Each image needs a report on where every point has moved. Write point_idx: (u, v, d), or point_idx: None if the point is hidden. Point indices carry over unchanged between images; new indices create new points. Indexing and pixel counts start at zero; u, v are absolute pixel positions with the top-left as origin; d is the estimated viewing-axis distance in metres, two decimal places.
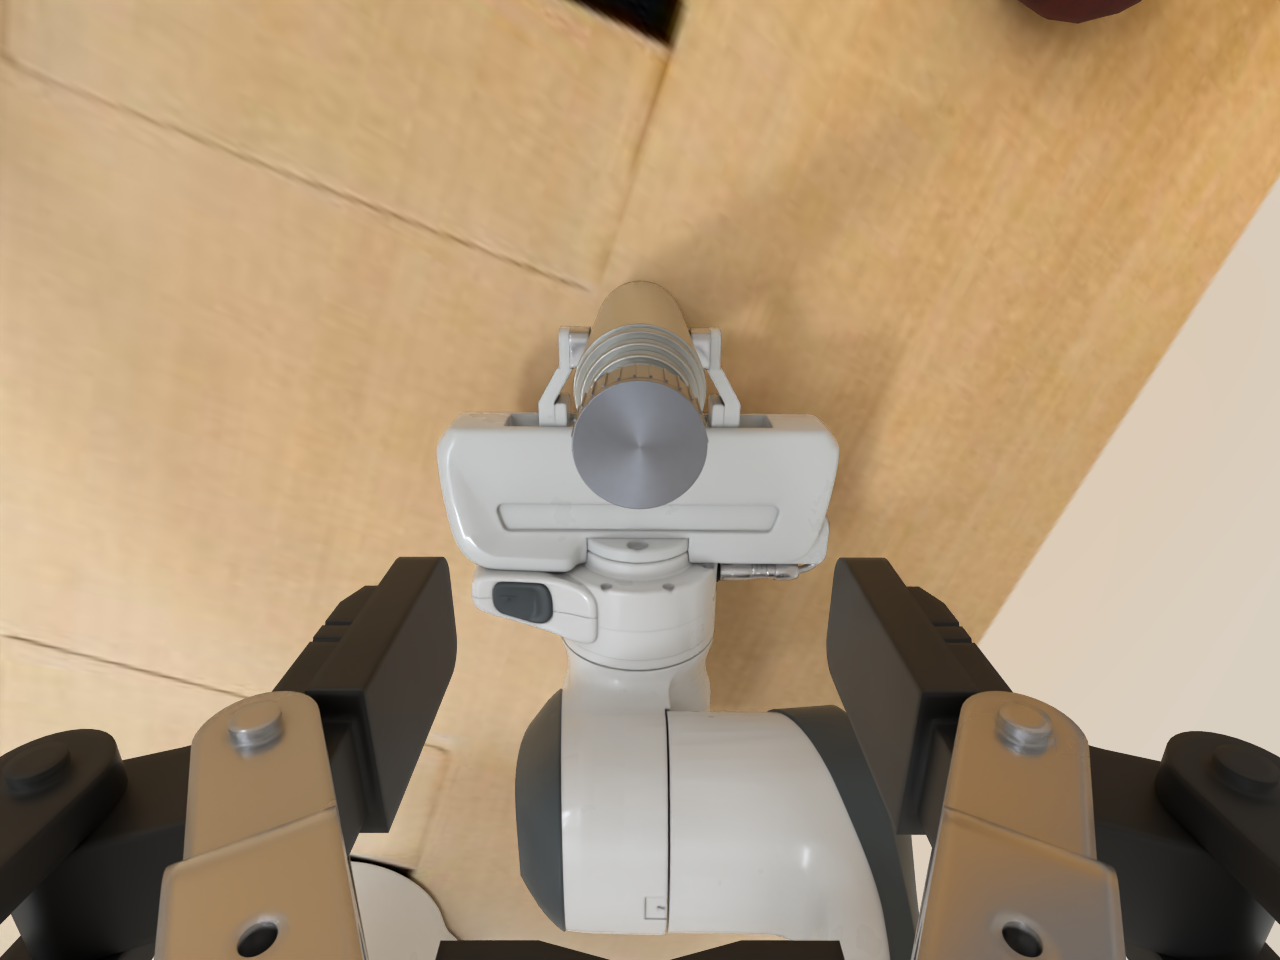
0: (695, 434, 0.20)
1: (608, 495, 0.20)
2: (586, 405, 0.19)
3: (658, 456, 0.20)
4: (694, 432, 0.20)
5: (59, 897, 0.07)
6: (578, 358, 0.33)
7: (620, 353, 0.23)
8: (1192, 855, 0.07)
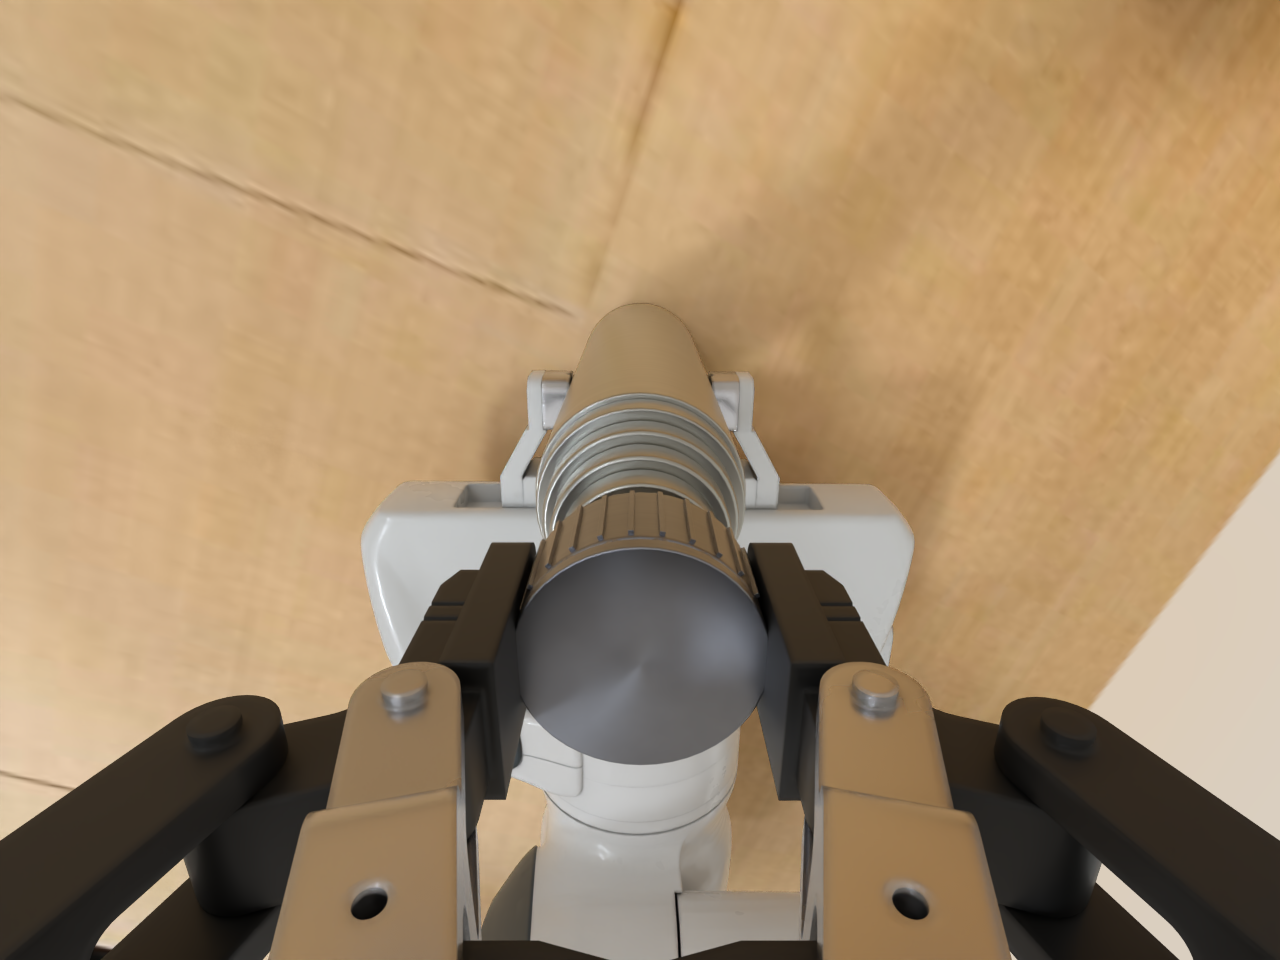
0: (748, 643, 0.10)
1: (582, 743, 0.11)
2: (537, 592, 0.10)
3: (677, 679, 0.10)
4: (746, 639, 0.10)
5: (220, 853, 0.07)
6: (555, 416, 0.24)
7: (608, 449, 0.14)
8: (1035, 820, 0.07)
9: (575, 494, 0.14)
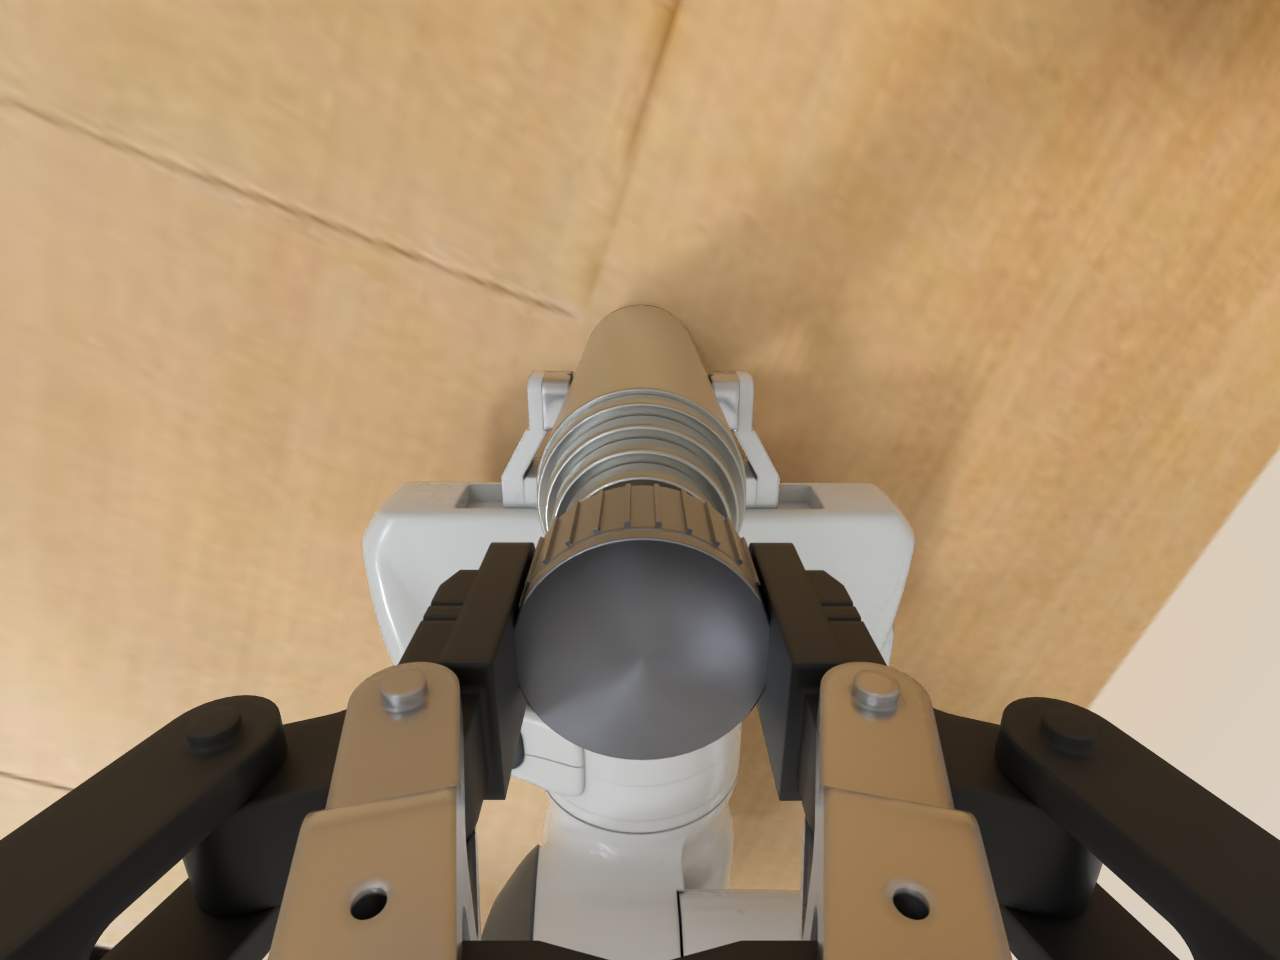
0: (630, 559, 0.10)
1: (731, 717, 0.11)
2: (551, 728, 0.11)
3: (667, 627, 0.10)
4: (626, 560, 0.10)
5: (219, 853, 0.07)
6: (555, 416, 0.24)
7: (609, 443, 0.14)
8: (1036, 820, 0.07)
9: (576, 488, 0.14)
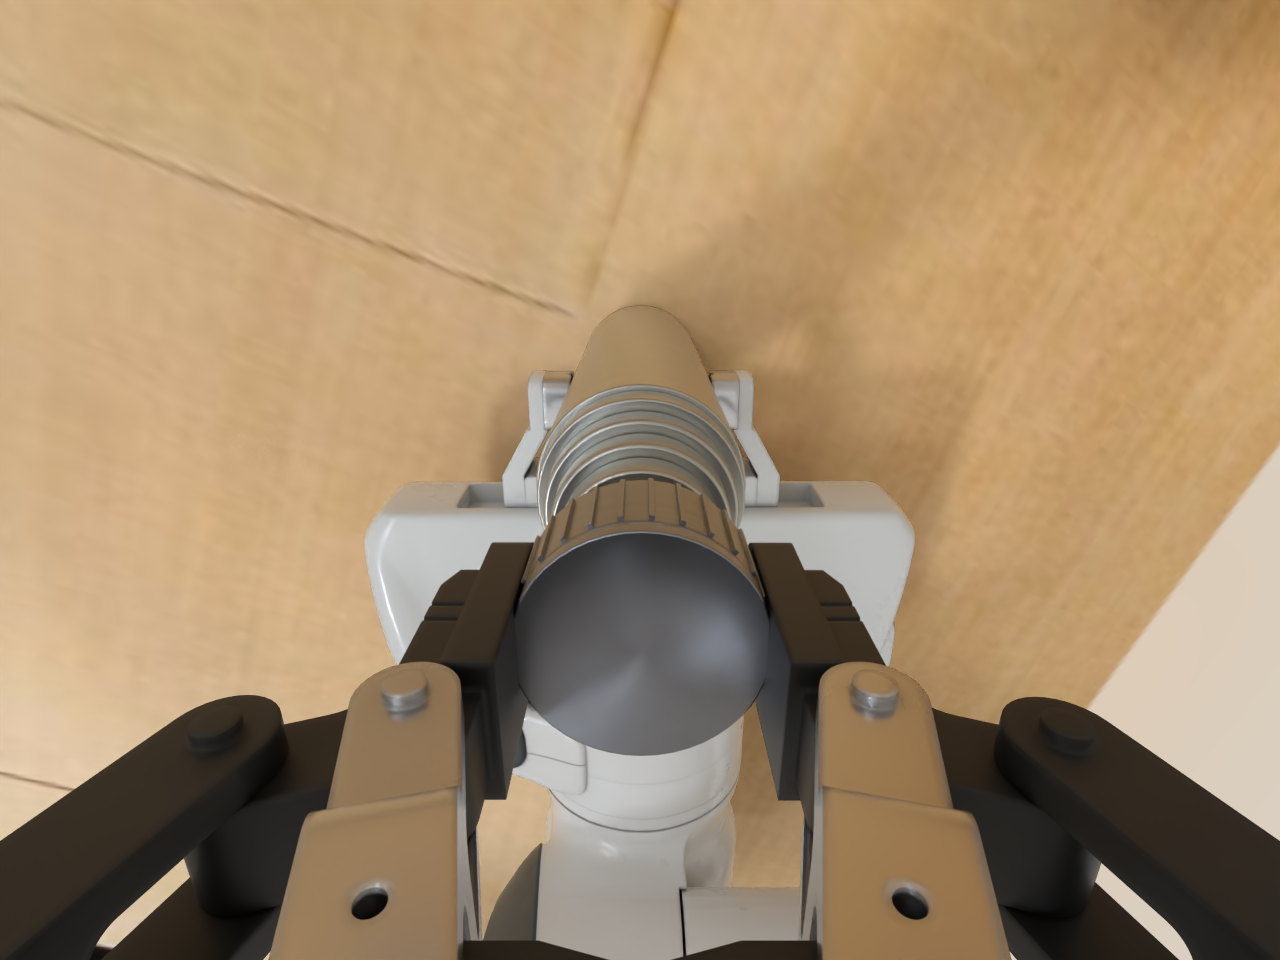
0: (530, 649, 0.10)
1: (731, 578, 0.10)
2: (712, 737, 0.11)
3: (609, 627, 0.10)
4: (531, 652, 0.10)
5: (220, 853, 0.07)
6: None
7: (608, 438, 0.14)
8: (1035, 820, 0.07)
9: (576, 482, 0.14)
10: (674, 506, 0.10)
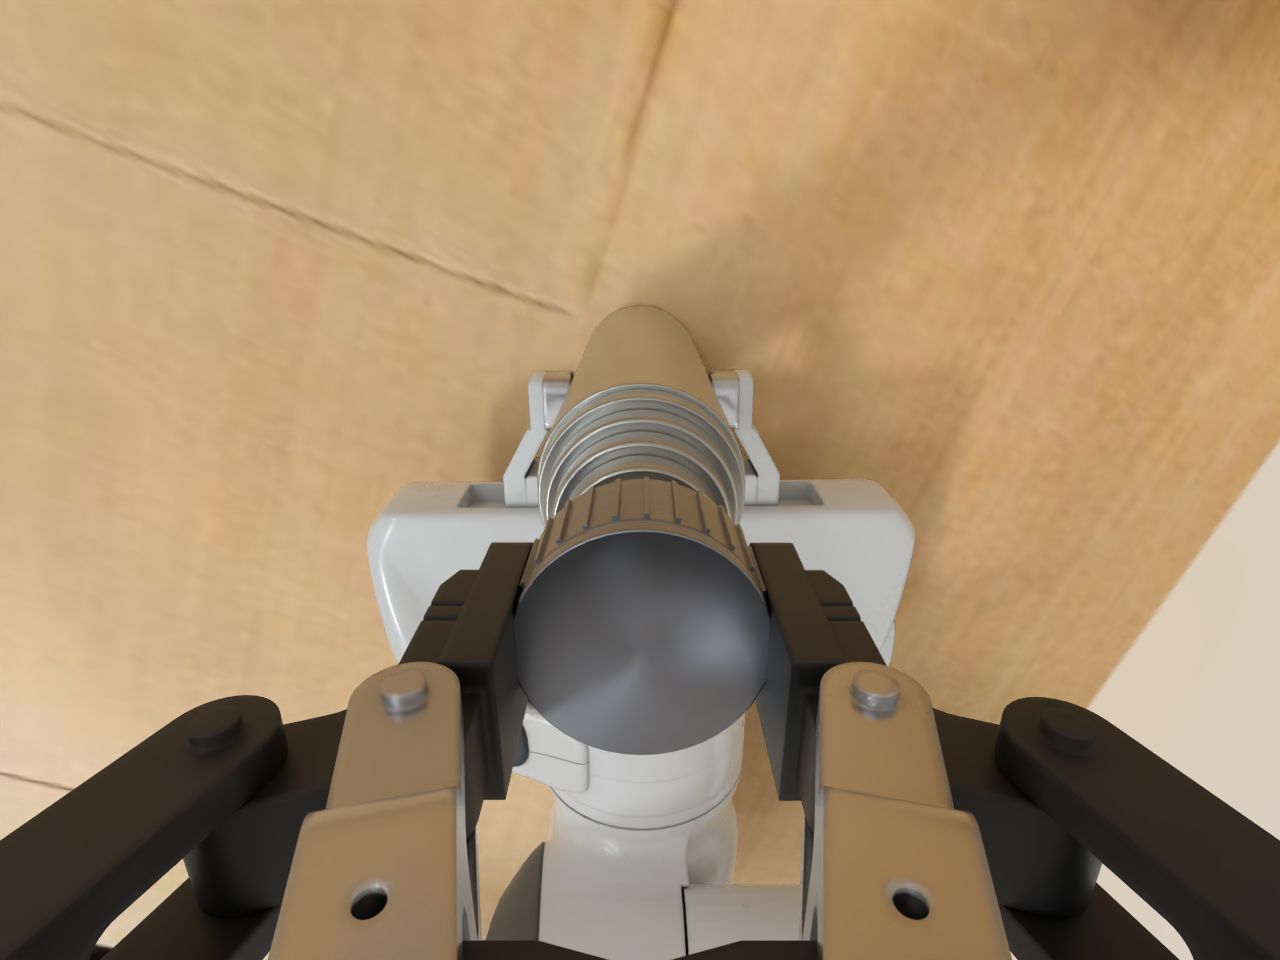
0: (624, 739, 0.11)
1: (569, 563, 0.10)
2: (761, 596, 0.10)
3: (610, 673, 0.10)
4: (628, 738, 0.11)
5: (219, 853, 0.07)
6: (556, 416, 0.24)
7: (608, 437, 0.14)
8: (1035, 820, 0.07)
9: (576, 480, 0.14)
10: None
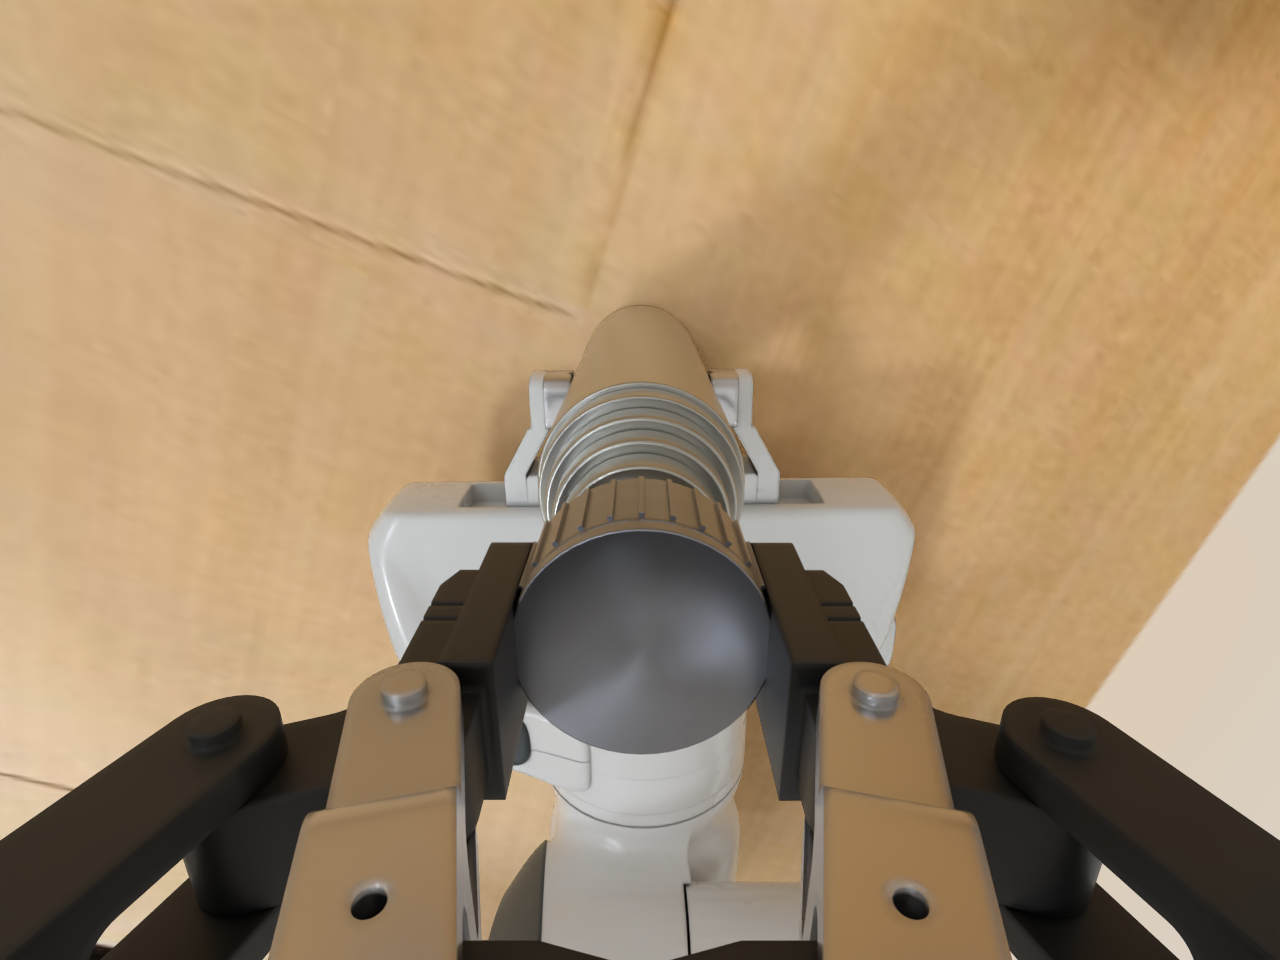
0: (746, 677, 0.10)
1: (539, 695, 0.10)
2: (595, 537, 0.10)
3: (664, 679, 0.10)
4: (746, 673, 0.10)
5: (219, 853, 0.07)
6: None
7: (608, 435, 0.14)
8: (1035, 820, 0.07)
9: (576, 479, 0.14)
10: None
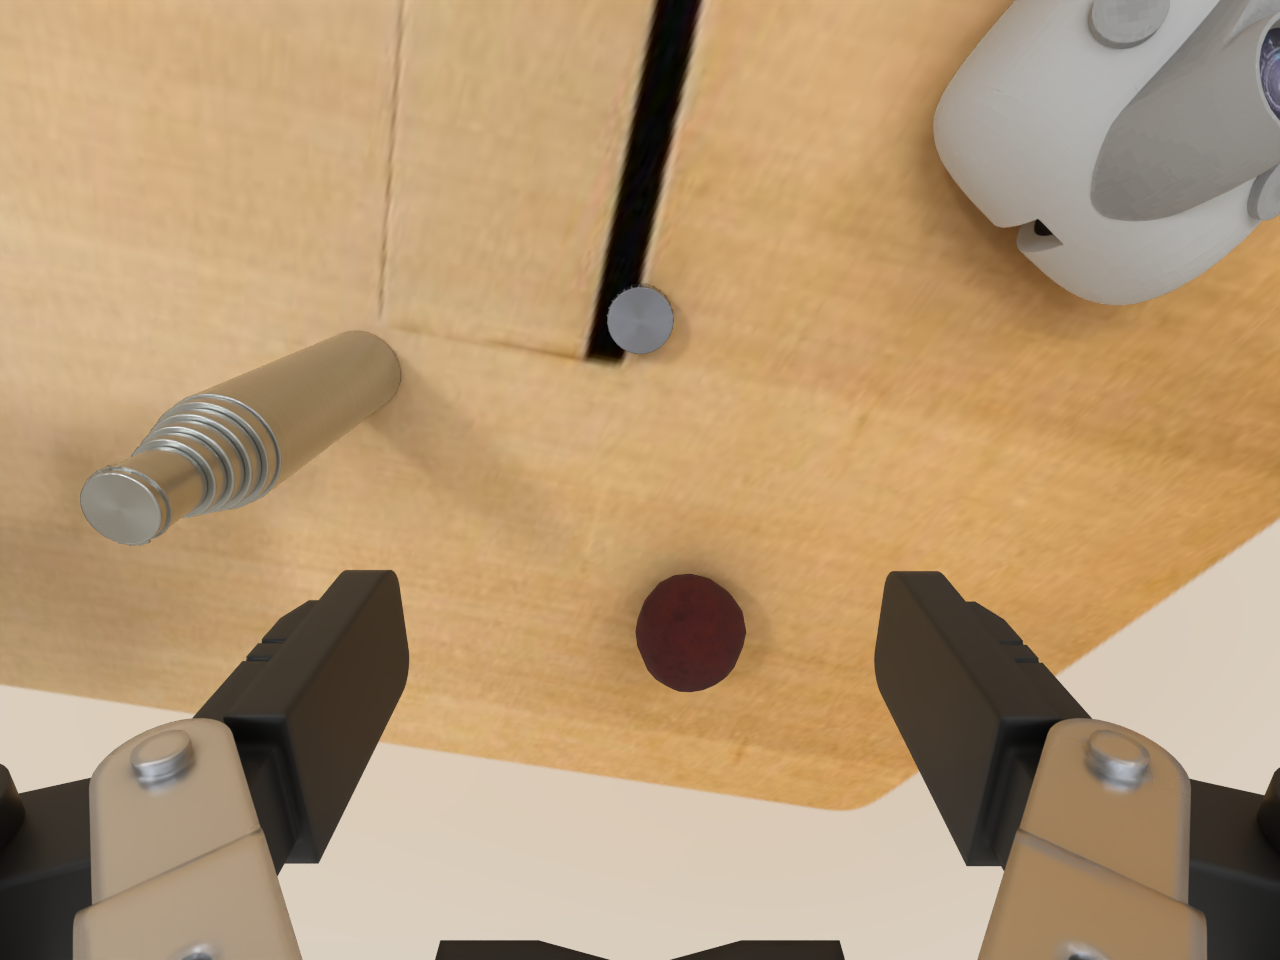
0: (652, 295, 0.40)
1: (650, 348, 0.41)
2: (608, 327, 0.41)
3: (649, 316, 0.41)
4: (651, 295, 0.40)
5: None
6: None
7: (232, 443, 0.27)
8: None
9: (198, 436, 0.26)
10: None
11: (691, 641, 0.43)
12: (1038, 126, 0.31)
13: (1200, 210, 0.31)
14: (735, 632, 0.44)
